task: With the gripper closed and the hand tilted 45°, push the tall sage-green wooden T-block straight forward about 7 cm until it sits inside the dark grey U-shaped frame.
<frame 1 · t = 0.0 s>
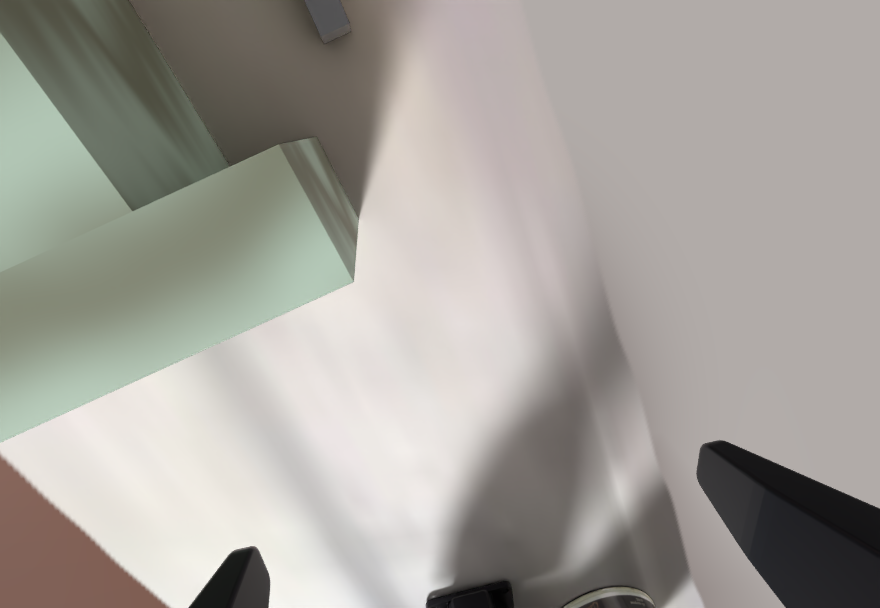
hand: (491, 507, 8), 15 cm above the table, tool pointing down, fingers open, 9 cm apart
T-block: (220, 234, 20), on the table
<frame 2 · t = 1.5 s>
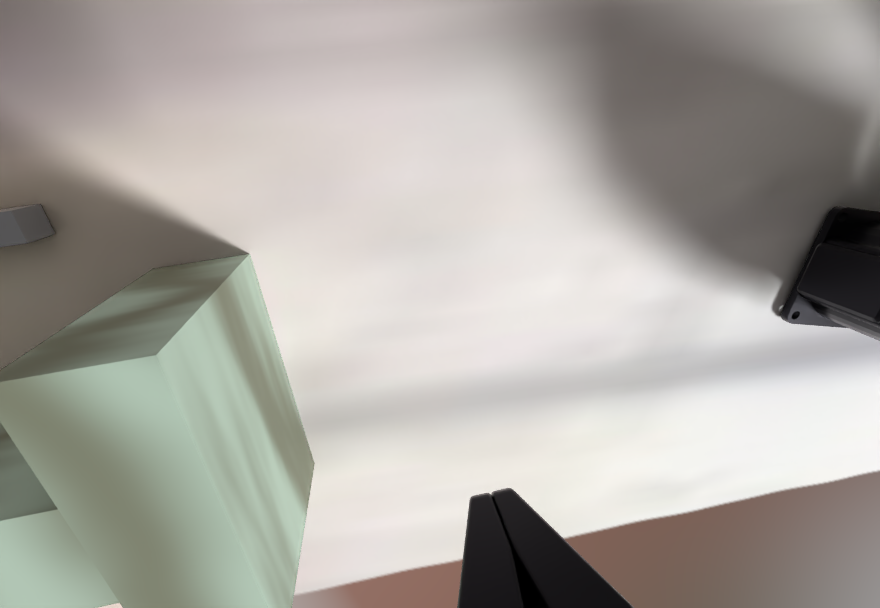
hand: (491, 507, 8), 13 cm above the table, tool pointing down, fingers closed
T-block: (243, 378, 21), on the table
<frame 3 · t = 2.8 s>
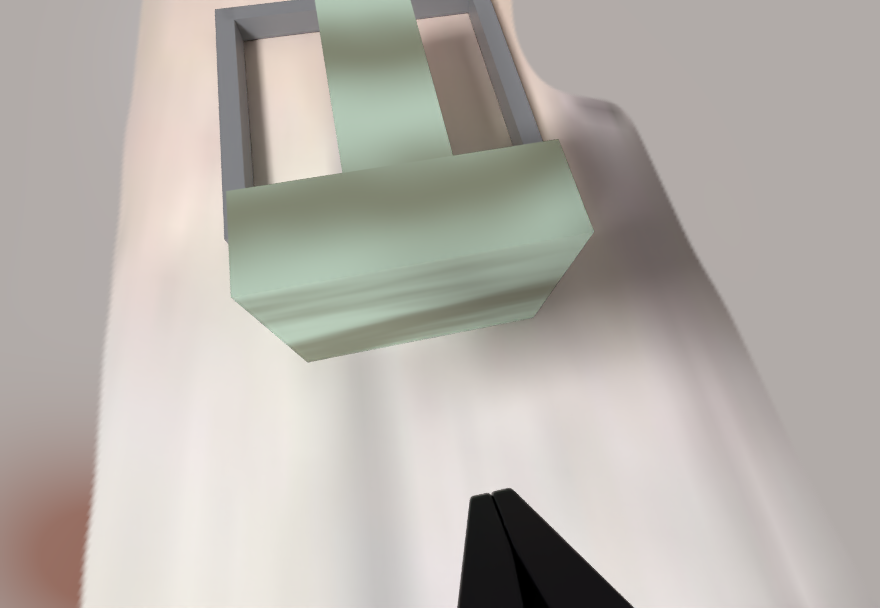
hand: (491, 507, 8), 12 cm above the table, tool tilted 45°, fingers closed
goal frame: (377, 118, 27), on the table
T-block: (416, 304, 23), on the table
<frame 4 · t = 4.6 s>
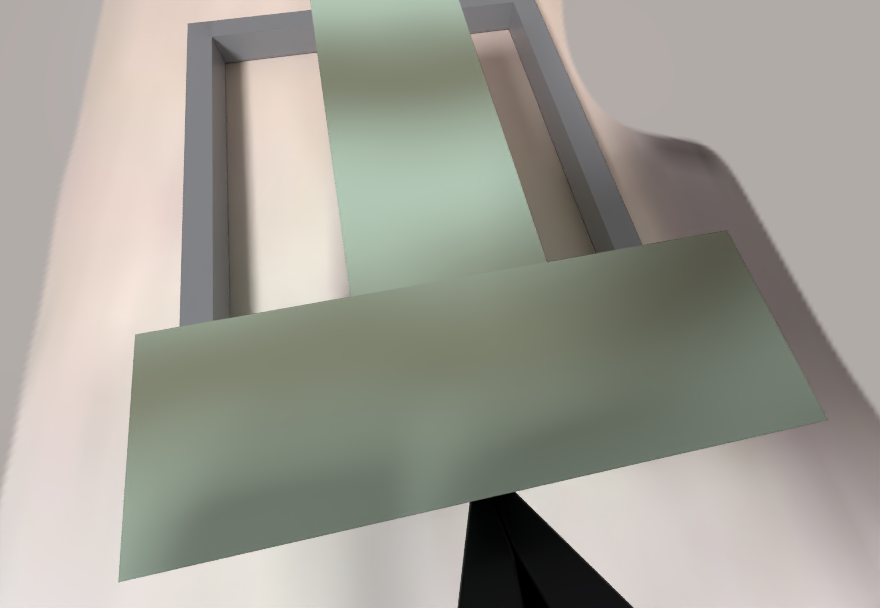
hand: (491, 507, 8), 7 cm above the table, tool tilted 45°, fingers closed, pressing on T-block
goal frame: (395, 164, 21), on the table
T-block: (451, 429, 16), on the table, touching gripper
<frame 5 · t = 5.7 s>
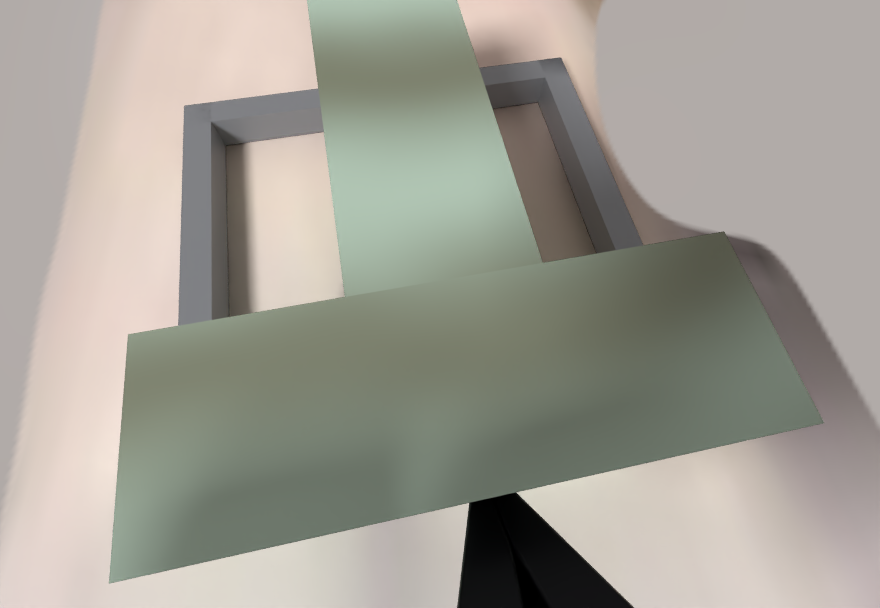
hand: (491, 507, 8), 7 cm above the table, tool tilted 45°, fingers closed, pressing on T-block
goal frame: (417, 270, 19), on the table
T-block: (448, 429, 16), on the table, touching gripper
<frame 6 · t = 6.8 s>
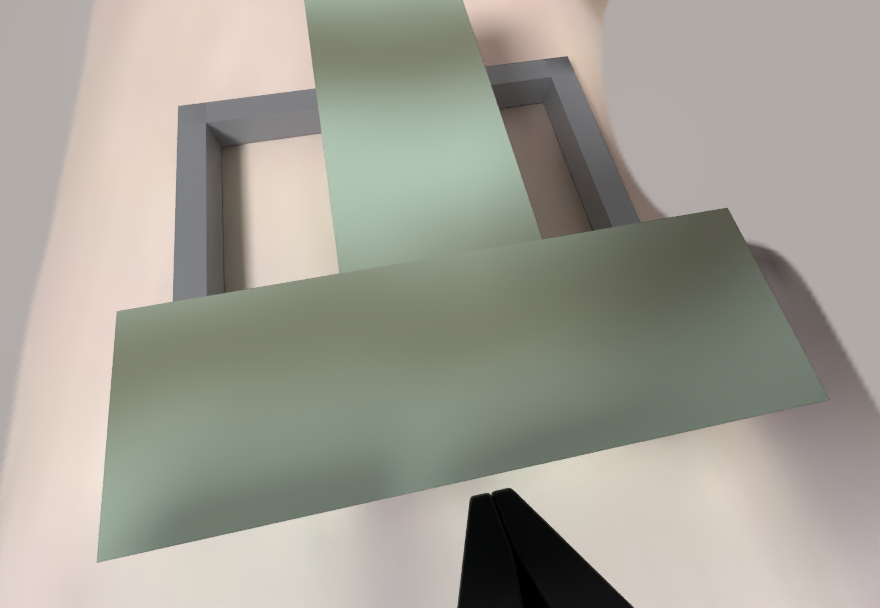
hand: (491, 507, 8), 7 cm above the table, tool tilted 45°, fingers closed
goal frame: (419, 277, 18), on the table
T-block: (446, 417, 16), on the table
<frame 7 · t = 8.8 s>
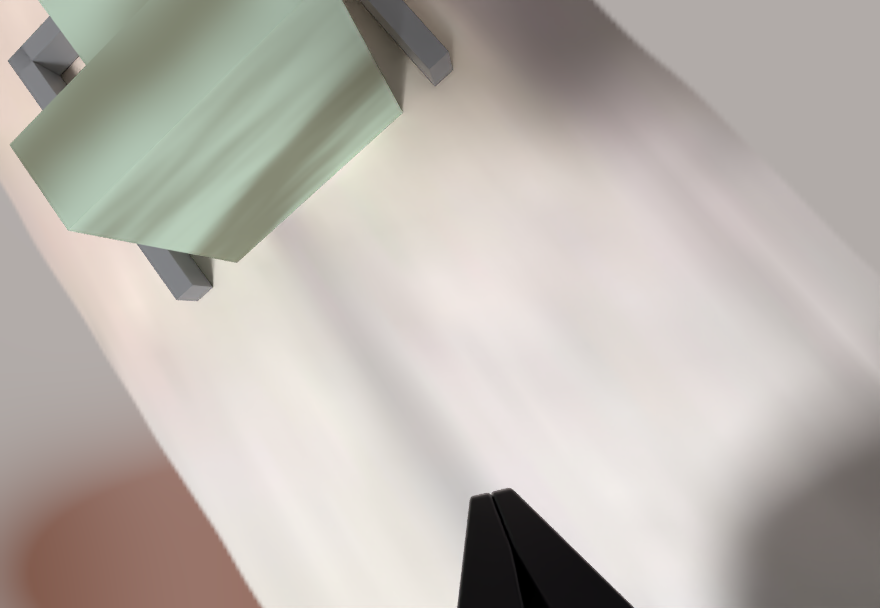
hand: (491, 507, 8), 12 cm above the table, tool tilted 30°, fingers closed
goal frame: (234, 83, 24), on the table
T-block: (295, 162, 23), on the table
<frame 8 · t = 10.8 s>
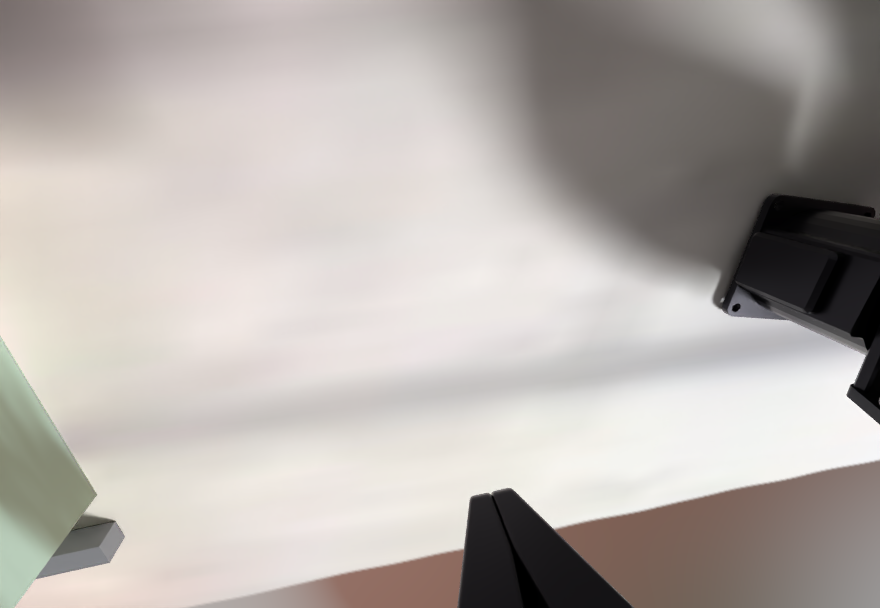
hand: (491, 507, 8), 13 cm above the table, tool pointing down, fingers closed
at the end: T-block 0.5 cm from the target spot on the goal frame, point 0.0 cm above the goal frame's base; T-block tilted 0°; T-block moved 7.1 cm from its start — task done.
